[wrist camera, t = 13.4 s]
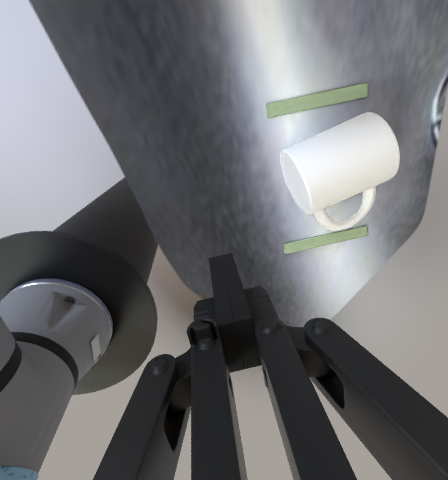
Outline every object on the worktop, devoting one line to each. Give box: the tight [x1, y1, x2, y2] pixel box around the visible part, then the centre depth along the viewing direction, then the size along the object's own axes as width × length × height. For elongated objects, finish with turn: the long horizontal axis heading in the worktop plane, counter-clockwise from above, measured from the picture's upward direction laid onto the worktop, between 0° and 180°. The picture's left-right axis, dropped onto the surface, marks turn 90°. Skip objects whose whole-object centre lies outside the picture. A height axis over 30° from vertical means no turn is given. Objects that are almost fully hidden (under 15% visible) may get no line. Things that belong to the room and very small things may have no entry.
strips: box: [266, 83, 368, 254], centre depth 36 cm, size 12×20×1 cm, turn 11°
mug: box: [280, 112, 400, 231], centre depth 33 cm, size 12×10×8 cm
